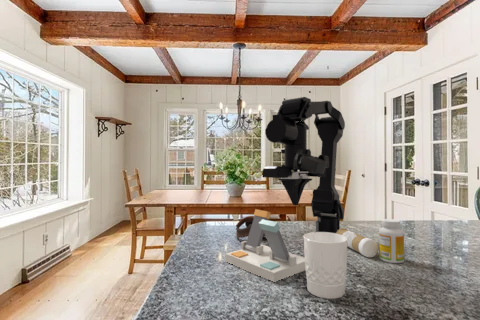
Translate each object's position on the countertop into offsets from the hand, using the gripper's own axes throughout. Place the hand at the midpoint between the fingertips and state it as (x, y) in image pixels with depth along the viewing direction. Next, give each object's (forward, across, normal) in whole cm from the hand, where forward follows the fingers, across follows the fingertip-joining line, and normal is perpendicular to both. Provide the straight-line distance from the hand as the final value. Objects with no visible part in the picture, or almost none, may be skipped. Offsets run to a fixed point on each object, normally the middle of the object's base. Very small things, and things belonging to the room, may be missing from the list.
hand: (295, 205), depth 74 cm
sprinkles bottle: (+10, +19, -1) cm, 21 cm away
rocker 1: (+10, -11, +4) cm, 16 cm away
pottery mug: (+13, +1, +19) cm, 23 cm away
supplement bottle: (+13, +15, -17) cm, 26 cm away
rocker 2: (+10, -11, -6) cm, 16 cm away
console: (+13, -11, -1) cm, 17 cm away
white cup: (+13, -11, -18) cm, 25 cm away
